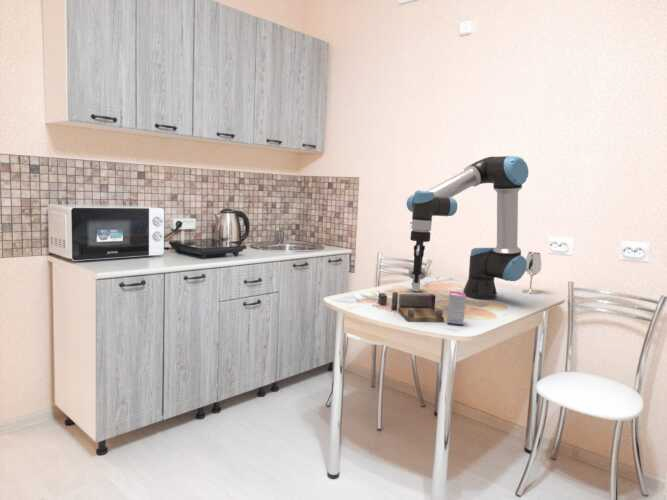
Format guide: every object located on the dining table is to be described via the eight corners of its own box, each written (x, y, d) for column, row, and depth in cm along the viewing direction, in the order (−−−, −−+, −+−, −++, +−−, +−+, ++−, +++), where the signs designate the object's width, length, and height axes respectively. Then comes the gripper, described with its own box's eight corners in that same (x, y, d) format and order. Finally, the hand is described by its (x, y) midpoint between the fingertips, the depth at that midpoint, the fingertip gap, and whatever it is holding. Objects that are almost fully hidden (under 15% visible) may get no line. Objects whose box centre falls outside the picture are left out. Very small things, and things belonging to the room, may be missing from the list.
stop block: (383, 302, 215) (384, 293, 215) (386, 305, 210) (387, 296, 210) (378, 302, 215) (378, 293, 214) (380, 305, 210) (381, 295, 210)
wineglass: (521, 292, 250) (525, 252, 247) (521, 289, 257) (526, 251, 254) (538, 294, 247) (542, 254, 244) (538, 291, 254) (542, 252, 252)
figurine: (409, 288, 246) (411, 264, 244) (425, 290, 243) (427, 266, 242) (406, 291, 239) (407, 266, 237) (421, 293, 236) (423, 268, 234)
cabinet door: (429, 309, 207) (430, 292, 206) (443, 322, 189) (445, 304, 188) (390, 308, 205) (392, 292, 204) (402, 321, 187) (403, 303, 186)
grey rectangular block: (399, 309, 203) (400, 294, 202) (398, 307, 206) (399, 293, 205) (434, 310, 205) (435, 295, 204) (432, 308, 208) (433, 293, 207)
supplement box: (463, 326, 185) (466, 295, 184) (447, 324, 187) (449, 294, 185) (462, 321, 191) (465, 292, 189) (446, 320, 192) (449, 290, 191)
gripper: (412, 228, 202) (408, 286, 205) (409, 231, 189) (404, 292, 193) (431, 230, 200) (426, 288, 203) (429, 233, 188) (423, 294, 191)
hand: (415, 290), depth 198 cm, fingers closed
